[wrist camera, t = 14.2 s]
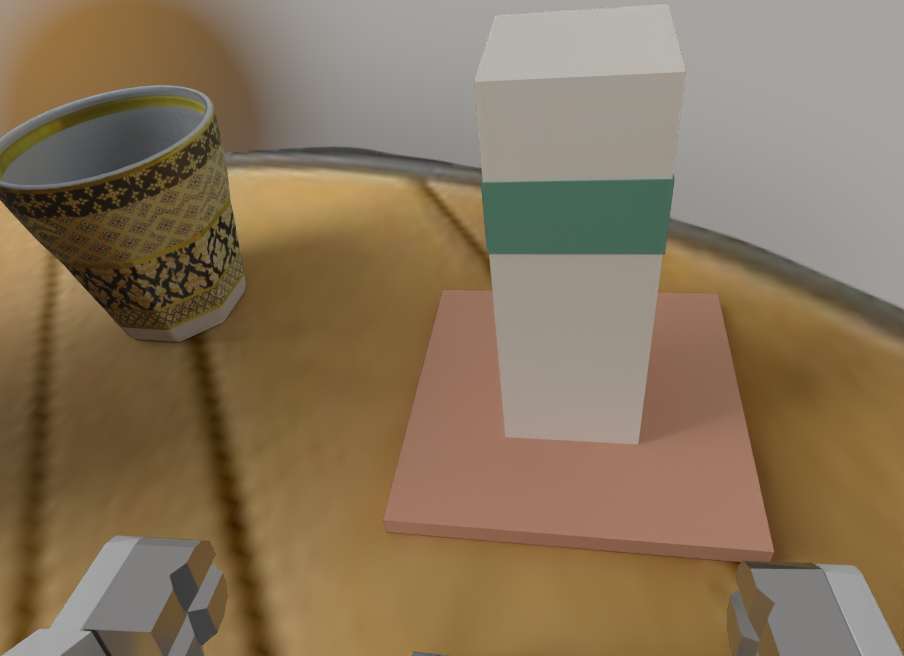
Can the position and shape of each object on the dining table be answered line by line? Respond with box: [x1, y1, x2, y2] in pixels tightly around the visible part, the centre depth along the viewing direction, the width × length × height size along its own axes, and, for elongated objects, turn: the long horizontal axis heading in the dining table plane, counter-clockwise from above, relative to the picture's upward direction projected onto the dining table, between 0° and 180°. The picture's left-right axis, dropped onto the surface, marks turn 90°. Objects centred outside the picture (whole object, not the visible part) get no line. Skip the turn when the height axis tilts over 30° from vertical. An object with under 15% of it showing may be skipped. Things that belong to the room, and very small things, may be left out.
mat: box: [383, 290, 774, 562], centre depth 27 cm, size 13×13×1 cm
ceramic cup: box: [0, 86, 246, 342], centre depth 33 cm, size 13×10×10 cm
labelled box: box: [474, 4, 686, 444], centre depth 22 cm, size 5×5×14 cm
